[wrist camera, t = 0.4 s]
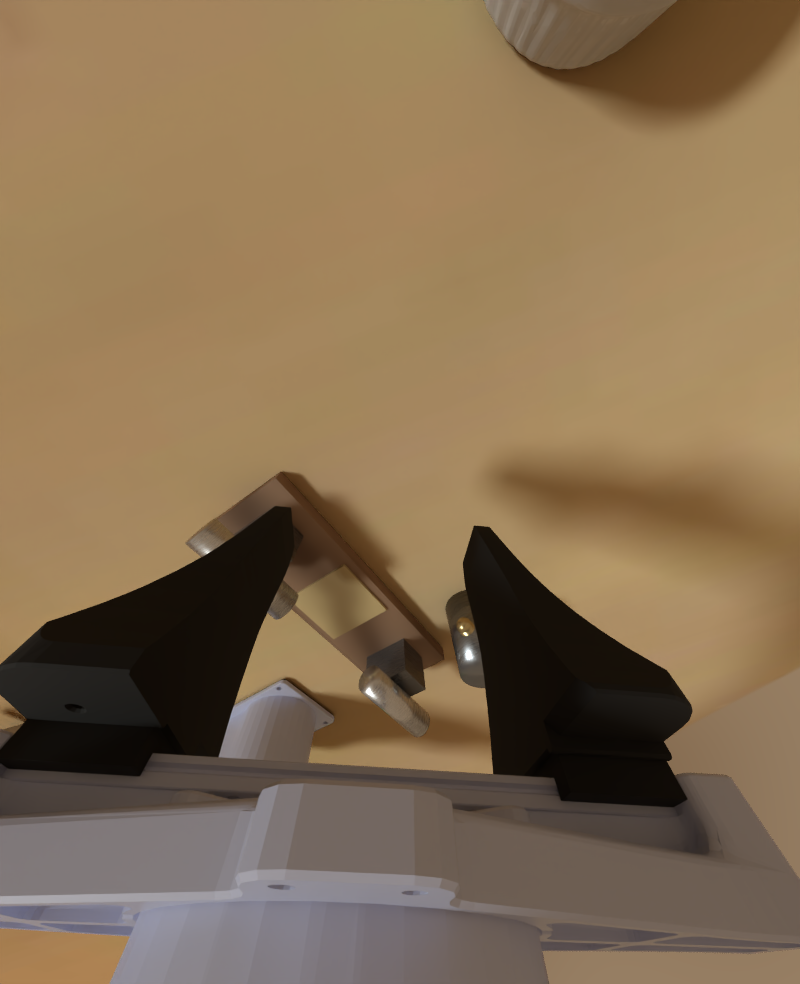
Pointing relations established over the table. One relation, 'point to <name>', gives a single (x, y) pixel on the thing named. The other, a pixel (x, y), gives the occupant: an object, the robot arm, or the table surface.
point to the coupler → (465, 640)
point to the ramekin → (572, 27)
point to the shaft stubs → (386, 670)
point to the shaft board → (335, 582)
